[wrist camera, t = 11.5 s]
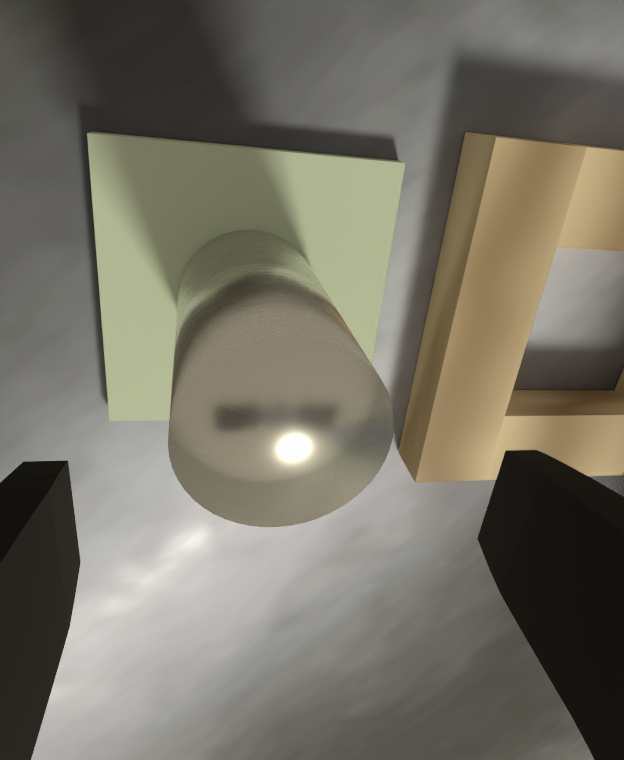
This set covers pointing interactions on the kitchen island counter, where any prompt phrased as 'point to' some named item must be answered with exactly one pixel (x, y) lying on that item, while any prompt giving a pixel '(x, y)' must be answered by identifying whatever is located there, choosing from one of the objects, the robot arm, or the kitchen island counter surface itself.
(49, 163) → the kitchen island counter surface
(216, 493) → the polished metal cylinder
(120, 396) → the sage mat
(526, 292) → the bore block
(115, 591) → the kitchen island counter surface
